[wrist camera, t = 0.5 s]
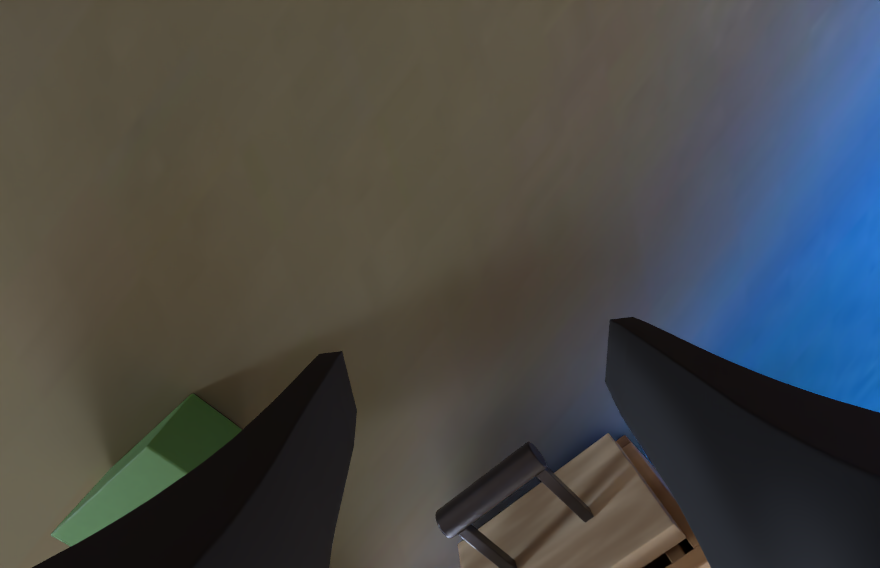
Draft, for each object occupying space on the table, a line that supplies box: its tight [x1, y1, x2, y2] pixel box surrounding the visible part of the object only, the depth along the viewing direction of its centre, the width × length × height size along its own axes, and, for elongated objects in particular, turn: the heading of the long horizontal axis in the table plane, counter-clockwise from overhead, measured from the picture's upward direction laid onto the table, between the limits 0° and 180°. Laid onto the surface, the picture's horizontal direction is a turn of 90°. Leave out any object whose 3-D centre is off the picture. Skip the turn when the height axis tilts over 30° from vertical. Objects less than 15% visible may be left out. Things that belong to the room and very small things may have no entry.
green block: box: [51, 394, 242, 546], centre depth 21 cm, size 7×3×4 cm, turn 131°
